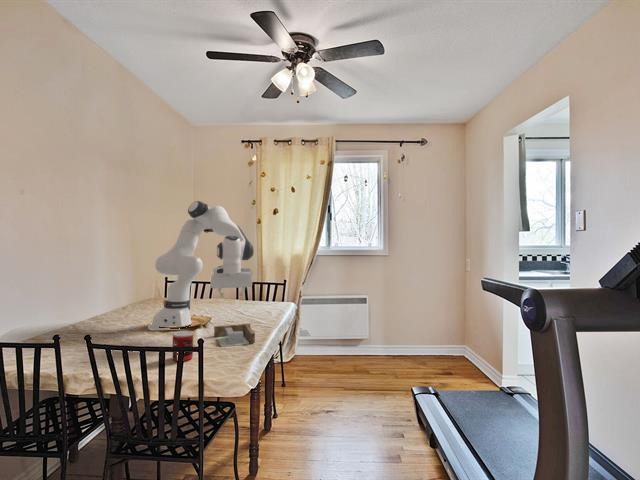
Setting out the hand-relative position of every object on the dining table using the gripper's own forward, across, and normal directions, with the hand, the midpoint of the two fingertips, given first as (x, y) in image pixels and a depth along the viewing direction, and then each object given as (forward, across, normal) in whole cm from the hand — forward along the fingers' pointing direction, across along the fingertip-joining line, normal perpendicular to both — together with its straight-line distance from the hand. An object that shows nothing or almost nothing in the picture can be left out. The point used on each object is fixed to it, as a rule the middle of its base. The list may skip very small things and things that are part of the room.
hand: (231, 296), depth 180 cm
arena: (+21, -2, +4) cm, 21 cm away
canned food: (+20, +22, +24) cm, 39 cm away
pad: (+21, 0, +6) cm, 21 cm away
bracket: (+21, -1, +6) cm, 21 cm away
